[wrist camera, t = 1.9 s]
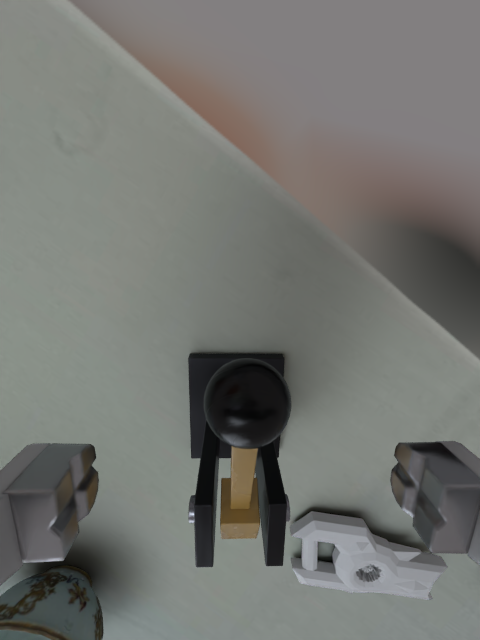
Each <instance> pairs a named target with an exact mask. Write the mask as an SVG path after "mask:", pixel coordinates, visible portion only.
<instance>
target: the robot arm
mask: <svg viewBox="0 0 480 640" xmlns="http://www.w3.org/2000/svg"><path fill="white" fill-rule="evenodd" d="M394 456H395V458H396V459H397V461H398V463H397V465H396V466H395V467H394V468H393V469H392V472H391V480H390V481H391V486H392V492H393V494H394V496H395V499H396V501H397V503H398V504H399V506H400V507H401V509H402V510H404V511H405V512H406V513H408V514H409V515H411V516H412V517H413V527H414V528H415V530H416V531H417V533H418V534H419V536H420V537H421V539H422V540H423V542H424V543H425V545H426V546H427V548H428V549H429V551H430V552H431V553H468V556H469V557H470V558H471V559H472V560H474V561H475V562H476V563H477V564H479V565H480V459H479V458H478V457H477V456H475V455H474V454H473V453H472V452H470V451H469V450H468V449H467V448H466V447H464V446H463V445H462V444H461V443H458V442H456V441H436V442H408V443H398V445H397V446H396V449H395V454H394ZM95 459H96V454H95V448H94V446H93V445H91V444H58V443H53V444H49V443H33V444H30V445H27V446H26V447H25V448H24V449H23V450H22V451H21V452H20V453H18V454H17V455H16V456H15V457H14V458H13V459H12V460H11V461H10V462H9V463H8V464H7V465H6V466H5V467H4V468H3V469H2V470H1V471H0V585H2V584H3V583H4V582H5V581H6V580H7V579H8V578H9V577H11V576H12V575H13V574H14V573H15V572H16V571H17V570H18V569H20V568H21V567H22V566H23V563H31V562H50V561H64V559H65V557H66V555H67V553H68V552H69V550H70V548H71V546H72V544H73V542H74V540H75V539H76V537H77V535H78V533H79V525H78V522H79V521H80V520H82V519H83V518H84V517H85V516H87V515H88V514H89V512H90V511H91V509H92V507H93V505H94V502H95V499H96V495H97V492H98V483H99V479H98V472H97V471H96V470H95V469H94V468H93V467H92V466H91V465H92V464H93V462H94V460H95Z"/></svg>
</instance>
